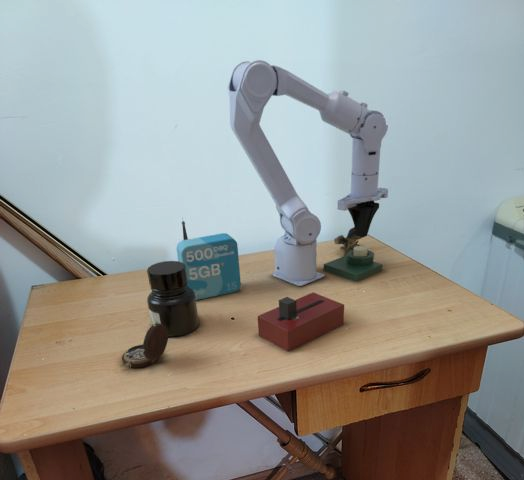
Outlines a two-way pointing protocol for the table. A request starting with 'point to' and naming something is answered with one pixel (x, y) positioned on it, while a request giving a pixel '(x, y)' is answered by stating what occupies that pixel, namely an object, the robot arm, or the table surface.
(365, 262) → the button block
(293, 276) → the robot arm
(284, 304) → the slider knob
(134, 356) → the compass
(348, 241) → the eagle figurine
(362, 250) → the button
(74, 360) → the table surface
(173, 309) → the ink bottle
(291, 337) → the slider base
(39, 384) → the table surface
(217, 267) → the data package
